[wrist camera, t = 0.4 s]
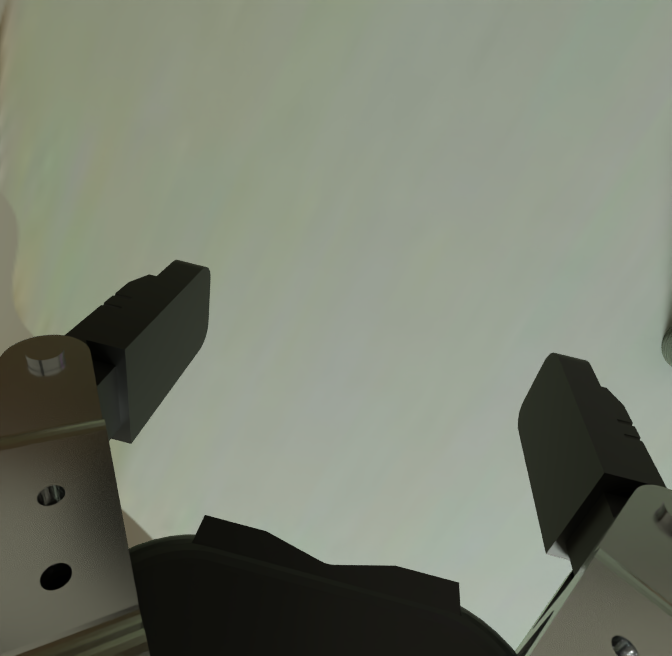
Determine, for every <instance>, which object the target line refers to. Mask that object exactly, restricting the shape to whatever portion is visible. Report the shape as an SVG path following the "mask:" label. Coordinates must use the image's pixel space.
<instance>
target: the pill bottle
mask: <svg viewBox="0 0 672 656" xmlns="http://www.w3.org/2000/svg"><path fill="white" fill-rule="evenodd" d="M662 354H663V357H664V359H665V360H666V361H667V363H668V364H669V365H670V366H671V367H672V326H671V328H670V329H669V330H668V331H667V333H666V335H665V337H664V339H663V342H662Z"/></svg>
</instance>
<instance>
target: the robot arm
mask: <svg viewBox="0 0 672 656" xmlns="http://www.w3.org/2000/svg"><path fill="white" fill-rule="evenodd" d="M209 298H210V270H209V268H207V267H204V266H200V265H196V264H192V263H188V262H184V261H180V260H175V261H173V262H172V263H171V264H170V265H169V266H168V267H166V268H165V269H164V270H163V271H162V272H161V273H160V274H159V275H157V276H153V275H147V276H144V277H141V278H139V279H136V280H133V281H131V282H129V283H127V284H126V285H125V286H124V287H122V288H121V289H120V290H119V291H118V292H116V293H115V296H112V297H110V298H109V299H108V300H107V301H106V302H104V305H101V306H100V307H98V308H97V309H96V310H95V311H93V312H92V313H91V314H90V315H89V316H87V317H86V318H85V319H84V320H83V321H81V322H80V323H79V324H78V325H77V326H75V327H74V328H73V329H72V330H70V331H69V332H68V333H67V334H66V335H43V336H37V337H32V338H29V339H26V340H23V341H20V342H18V343H16V344H14V345H12V346H11V347H9V348H8V349H7V350H6V351H4V353H3V354H2V355H1V356H0V656H672V490H670V489H668V488H666V486H665V484H664V482H663V480H662V478H661V476H660V474H659V472H658V470H657V468H656V466H655V465H654V463H653V461H652V459H651V457H650V455H649V453H648V451H647V449H646V447H645V445H644V443H643V442H642V441H640V436H639V434H638V432H637V430H636V428H635V427H634V426H632V424H633V422H632V420H631V419H630V417H629V415H628V413H627V411H626V409H625V407H624V405H623V404H622V403H621V402H620V401H619V400H618V399H617V398H616V397H615V396H614V395H613V394H612V393H611V392H610V391H609V390H608V389H607V388H605V387H601V386H600V384H599V381H598V379H597V377H596V375H595V373H594V371H593V369H592V367H591V365H590V363H589V362H588V361H586V360H582V359H578V358H574V357H569V356H565V355H561V354H557V353H551V354H550V355H549V356H548V357H547V358H546V359H545V361H544V363H543V365H542V367H541V369H540V371H539V373H538V374H537V376H536V378H535V380H534V382H533V384H532V386H531V388H530V390H529V392H528V394H527V396H526V398H525V399H524V401H523V404H522V406H521V409H520V412H519V418H518V430H519V435H520V440H521V444H522V448H523V453H524V457H525V462H526V466H527V471H528V475H529V480H530V484H531V489H532V493H533V498H534V502H535V507H536V511H537V516H538V520H539V524H540V529H541V533H542V538H543V542H544V547H545V551H546V554H548V555H551V556H555V557H559V558H563V559H567V560H570V562H571V565H572V569H573V570H572V571H571V572H570V573H569V575H568V576H567V577H566V578H565V580H564V581H563V583H562V584H561V586H560V587H559V588H558V590H557V591H556V593H555V594H554V596H553V597H552V599H551V600H550V601H549V603H548V604H547V606H546V607H545V609H544V610H543V612H542V613H541V615H540V616H539V617H538V619H537V620H536V622H535V623H534V625H533V626H532V628H531V629H530V630H529V632H528V633H527V635H526V636H525V638H524V639H523V641H522V642H521V643H520V645H519V646H518V647H517V649H516V650H515V651H514V650H513V649H512V647H511V646H510V645H509V644H508V643H507V642H506V641H505V640H504V639H503V638H502V637H501V636H500V635H499V634H498V633H497V632H496V631H495V630H493V629H492V628H491V627H490V626H489V625H487V624H486V623H485V622H484V621H483V620H481V619H480V618H478V617H477V616H475V615H474V614H473V613H471V612H470V611H468V610H466V609H465V608H463V607H461V606H460V593H459V583H458V582H455V581H451V580H447V579H443V578H440V577H436V576H432V575H428V574H425V573H421V572H417V571H413V570H410V569H406V568H402V567H398V566H374V565H330V564H326V563H323V562H321V561H319V560H317V559H316V558H314V557H312V556H310V555H308V554H307V553H305V552H303V551H301V550H299V549H297V548H296V547H294V546H292V545H290V544H288V543H287V542H285V541H283V540H281V539H279V538H278V537H276V536H274V535H272V534H270V533H268V532H267V531H263V530H259V529H256V528H252V527H248V526H244V525H241V524H237V523H233V522H229V521H226V520H222V519H218V518H214V517H211V516H207V515H205V516H204V518H203V520H202V522H201V525H200V527H199V529H198V531H197V533H196V535H176V536H168V537H164V538H159V539H154V540H151V541H148V542H145V543H142V544H139V545H136V546H134V547H132V548H129V549H128V544H127V538H126V533H125V527H124V522H123V517H122V511H121V505H120V500H119V494H118V489H117V483H116V478H115V472H114V467H113V462H112V456H111V451H110V445H109V440H110V439H115V440H119V441H123V442H126V443H130V444H131V443H132V442H133V441H134V439H135V438H136V436H137V435H138V434H139V432H140V431H141V430H142V428H143V427H144V425H145V424H146V423H147V421H148V420H149V419H150V417H151V416H152V414H153V413H154V412H155V410H156V409H157V408H158V406H159V405H160V404H161V402H162V401H163V399H164V398H165V397H166V395H167V394H168V393H169V391H170V390H171V388H172V387H173V386H174V384H175V383H176V382H177V380H178V379H179V377H180V376H181V375H182V373H183V372H184V371H185V369H186V368H187V366H188V365H189V364H190V362H191V361H192V360H193V358H194V357H195V355H196V354H197V353H198V351H199V350H200V348H201V347H202V345H203V343H204V340H205V337H206V334H207V329H208V319H209Z"/></svg>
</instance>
